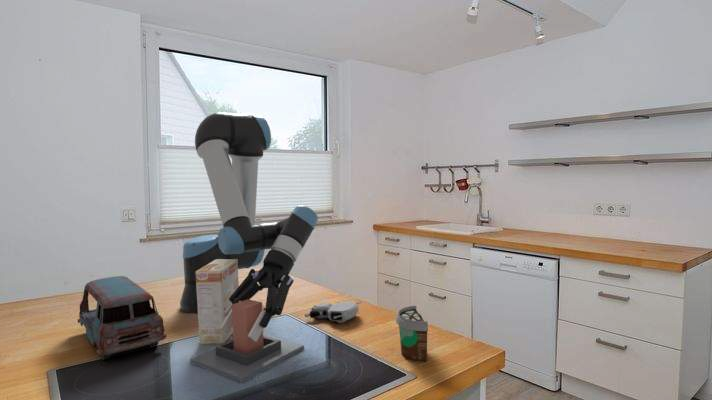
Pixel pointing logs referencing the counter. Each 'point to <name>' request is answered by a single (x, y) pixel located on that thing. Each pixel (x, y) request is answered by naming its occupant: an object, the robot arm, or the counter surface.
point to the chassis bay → (246, 358)
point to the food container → (412, 334)
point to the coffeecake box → (215, 298)
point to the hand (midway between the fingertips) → (237, 334)
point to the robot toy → (334, 311)
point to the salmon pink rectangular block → (245, 326)
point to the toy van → (120, 316)
